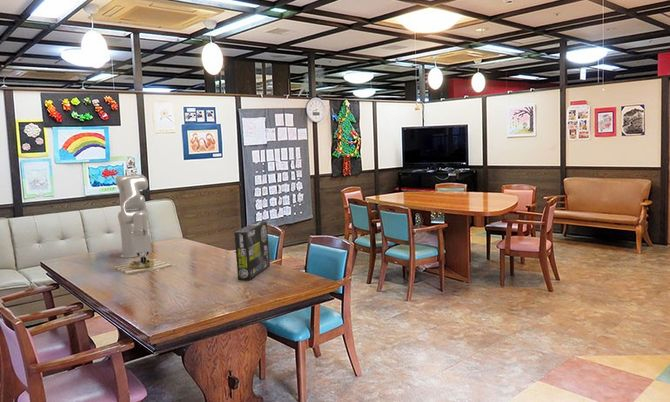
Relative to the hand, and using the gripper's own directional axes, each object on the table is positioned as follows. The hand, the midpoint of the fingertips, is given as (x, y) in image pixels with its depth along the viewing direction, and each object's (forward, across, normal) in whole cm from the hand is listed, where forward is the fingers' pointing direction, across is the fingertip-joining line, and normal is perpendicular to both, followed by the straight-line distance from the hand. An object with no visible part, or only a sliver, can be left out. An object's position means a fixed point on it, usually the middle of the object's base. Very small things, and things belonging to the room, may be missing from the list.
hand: (143, 263), depth 314 cm
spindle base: (+4, -1, +9) cm, 10 cm away
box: (+5, +58, -41) cm, 71 cm away
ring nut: (+3, 0, +7) cm, 7 cm away
